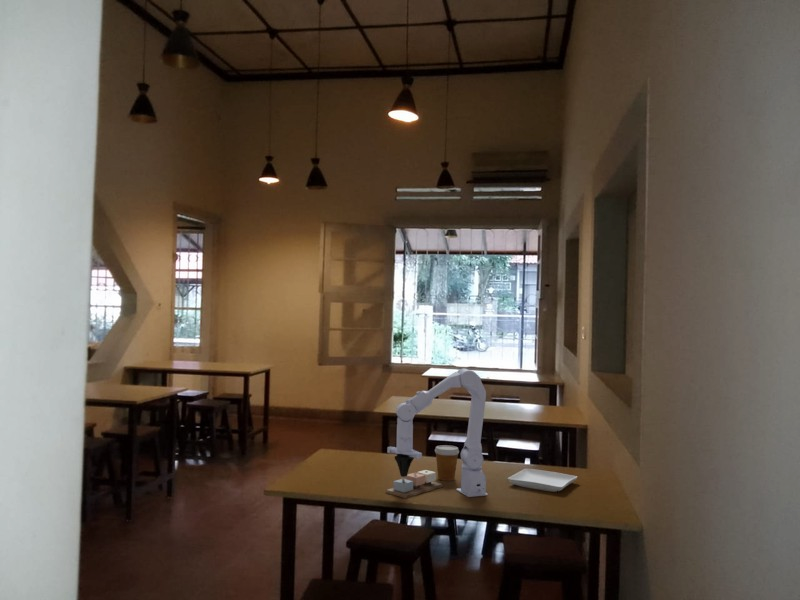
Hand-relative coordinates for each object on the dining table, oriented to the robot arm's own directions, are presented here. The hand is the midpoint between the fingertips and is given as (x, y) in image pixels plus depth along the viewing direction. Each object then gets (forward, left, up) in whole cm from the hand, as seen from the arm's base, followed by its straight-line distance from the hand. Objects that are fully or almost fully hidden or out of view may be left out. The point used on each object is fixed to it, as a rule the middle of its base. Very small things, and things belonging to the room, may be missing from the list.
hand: (403, 476), depth 223 cm
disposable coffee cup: (+14, -24, -6) cm, 28 cm away
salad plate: (-4, -56, -7) cm, 56 cm away
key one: (+6, -11, -4) cm, 13 cm away
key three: (0, 0, -5) cm, 5 cm away
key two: (+3, -6, -4) cm, 7 cm away
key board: (+3, -6, -6) cm, 9 cm away
